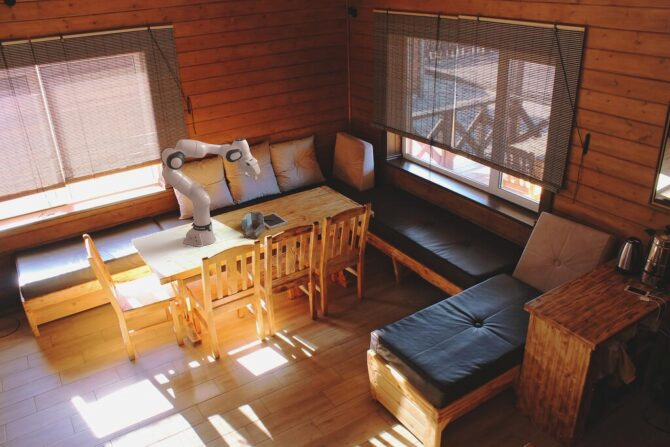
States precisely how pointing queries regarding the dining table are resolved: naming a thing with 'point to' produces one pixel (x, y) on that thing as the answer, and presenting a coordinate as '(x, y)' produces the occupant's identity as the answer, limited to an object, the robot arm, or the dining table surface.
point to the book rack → (255, 226)
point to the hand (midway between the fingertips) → (251, 177)
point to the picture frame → (274, 221)
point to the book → (246, 221)
